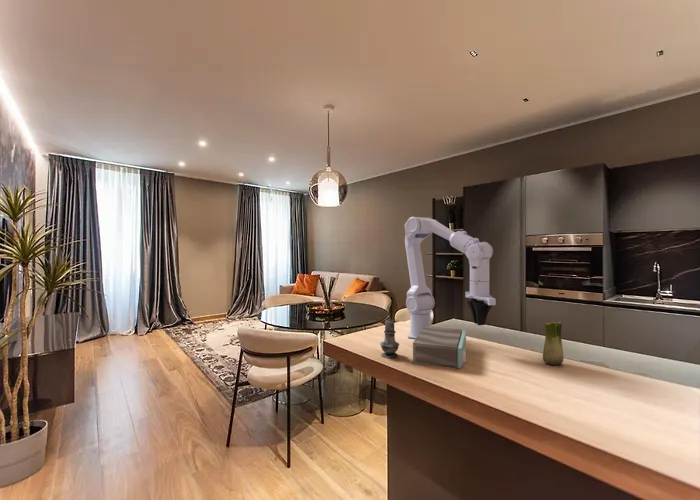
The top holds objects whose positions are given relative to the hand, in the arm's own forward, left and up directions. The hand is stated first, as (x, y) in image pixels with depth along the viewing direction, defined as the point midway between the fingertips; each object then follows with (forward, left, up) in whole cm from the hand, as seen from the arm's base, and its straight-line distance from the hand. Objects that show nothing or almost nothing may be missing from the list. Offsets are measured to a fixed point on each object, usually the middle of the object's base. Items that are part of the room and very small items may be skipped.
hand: (479, 324), depth 102 cm
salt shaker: (+12, -25, -9) cm, 30 cm away
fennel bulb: (+2, +20, -9) cm, 22 cm away
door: (+6, -4, -9) cm, 11 cm away
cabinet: (+6, -11, -9) cm, 16 cm away
